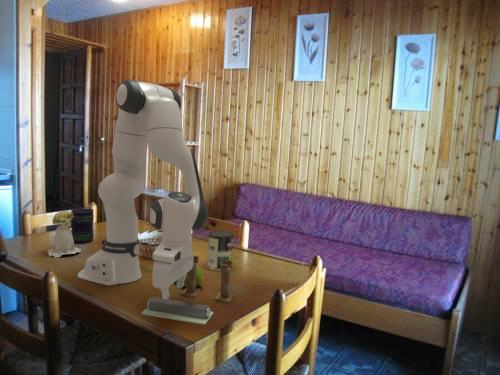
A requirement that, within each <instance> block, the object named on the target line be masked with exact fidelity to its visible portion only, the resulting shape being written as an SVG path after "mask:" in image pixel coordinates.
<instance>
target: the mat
mask: <svg viewBox="0 0 500 375" xmlns="http://www.w3.org/2000/svg"><path fill="white" fill-rule="evenodd" d="M141 315H145V316H149V317H156V318H162V319H167V320H175V321H180V322H186V323H190V324H192V323H193V324H198V325H206V324H207V323H208V321H210V319H211V317H212V316H213V315H214V311H211V310H210V315H209V317H206V319H200V318H194V317H188V316H182V315H176V314H170V313H164V312H157V311H151V310H149V308H148V307H147V308H145V309H144V310H143V311H142V312H141Z"/></svg>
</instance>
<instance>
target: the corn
mask: <svg viewBox="0 0 500 375" xmlns="http://www.w3.org/2000/svg"><path fill="white" fill-rule="evenodd" d="M177 281H178V280H177ZM177 281H176V282H177ZM203 282H204V276H203V273H202V271H201V269H200V268H198V267H196V288H197V287H199V286H200V287H201V285H202V284H203ZM183 287H185V288H186V287H187V273H186V278H185V280H184V286H183Z"/></svg>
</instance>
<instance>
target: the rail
mask: <svg viewBox="0 0 500 375" xmlns="http://www.w3.org/2000/svg"><path fill="white" fill-rule="evenodd" d="M146 307H147V308H149V310H151V311H157V312H164V313H170V314H176V315H182V316H188V317H194V318H200V319H206V317H209V315H210V311H211V307H210V306H209V305H208V304H201V303H194V302H187V301H182V300H175V299H170V298H168V299H167V300H165V299H162V297H156V296H152V297H151V298H149V299H148V300H147V303H146Z"/></svg>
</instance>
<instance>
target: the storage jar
mask: <svg viewBox="0 0 500 375" xmlns="http://www.w3.org/2000/svg"><path fill="white" fill-rule="evenodd" d="M71 211H72V212H73V214H74V217H73V219H72V220H71V232H72V236H73V241H74V245H87V244H86V243H89V244H91V243H90V242H92V241H93V242H94V229H93V228H94V209H92V208H87V207H86V208H85V207H83V208H79V207H78V208H72V209H71V210H70V212H71ZM93 242H92V243H93Z"/></svg>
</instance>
